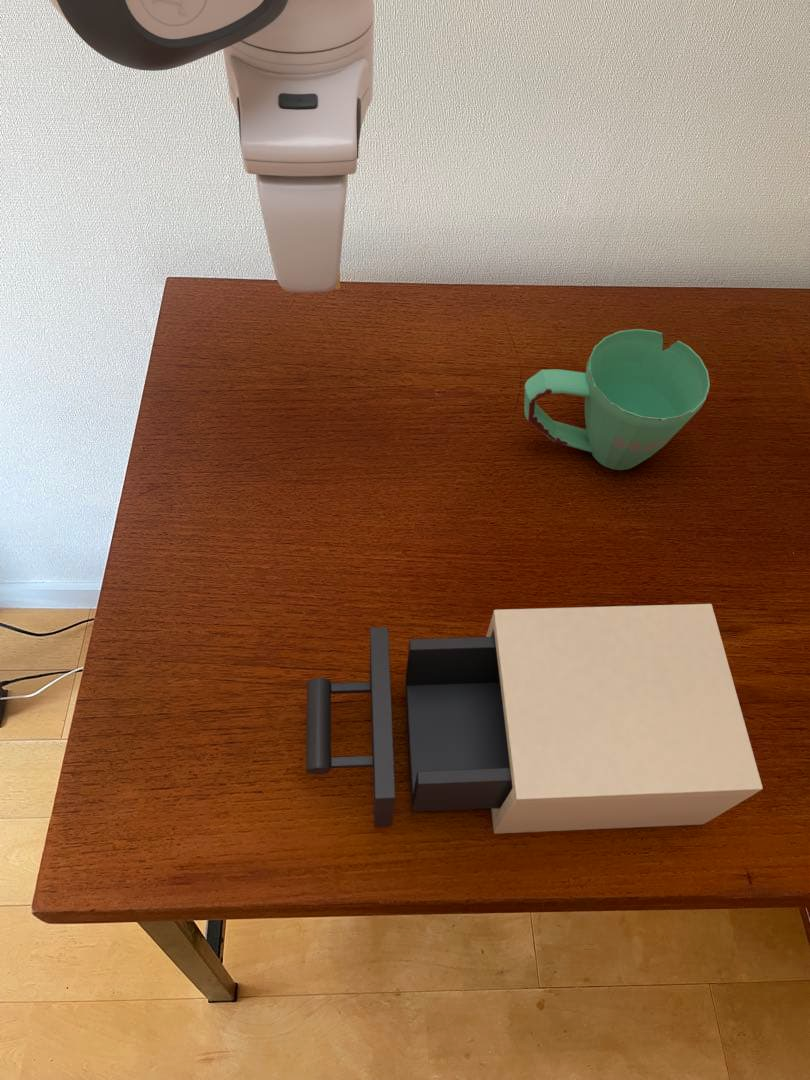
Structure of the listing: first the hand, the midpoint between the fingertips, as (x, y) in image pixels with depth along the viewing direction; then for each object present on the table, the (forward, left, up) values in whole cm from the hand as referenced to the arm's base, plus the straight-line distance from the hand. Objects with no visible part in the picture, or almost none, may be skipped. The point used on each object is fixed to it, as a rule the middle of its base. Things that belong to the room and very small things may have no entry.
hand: (312, 255), depth 60 cm
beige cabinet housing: (+19, -32, -17) cm, 41 cm away
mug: (+24, -6, -17) cm, 30 cm away
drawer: (+8, -32, -16) cm, 37 cm away
